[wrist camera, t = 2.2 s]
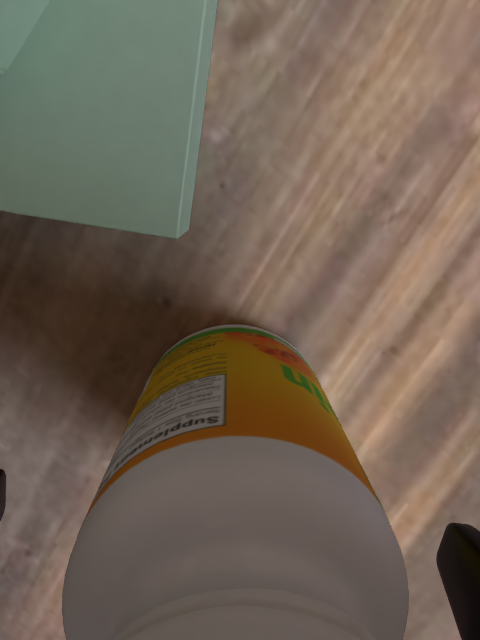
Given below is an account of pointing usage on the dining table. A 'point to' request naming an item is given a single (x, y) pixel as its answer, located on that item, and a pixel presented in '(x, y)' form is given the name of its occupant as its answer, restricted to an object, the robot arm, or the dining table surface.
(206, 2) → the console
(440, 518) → the dining table surface
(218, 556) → the supplement bottle
